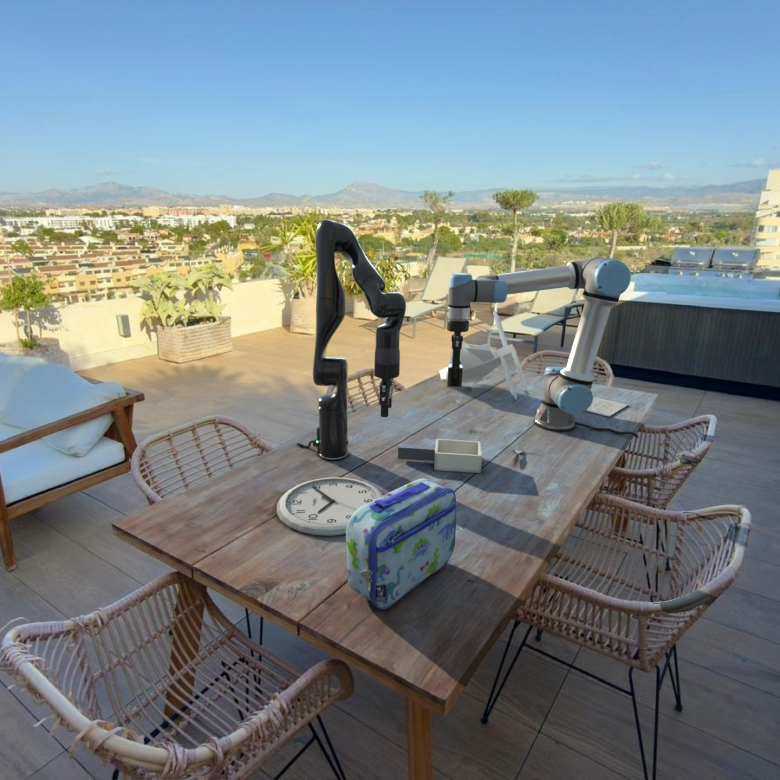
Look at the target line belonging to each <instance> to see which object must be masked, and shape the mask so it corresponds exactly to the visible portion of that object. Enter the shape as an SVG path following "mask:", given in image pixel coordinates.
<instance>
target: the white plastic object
mask: <svg viewBox="0 0 780 780" xmlns="http://www.w3.org/2000/svg"><path fill="white" fill-rule="evenodd" d="M492 315H493V319H494V321H495V324H496V325H495V326H496V328H497V332H498V335H499V338H500V342H501V345H502V347H500V348H498V349H496V350H495V349H493V348H492V347H491V346H490V344H489V343H488V342H487V343H483V344H479V345H473V346H469V345H468V343H466V342H465V340H464V339H463V342H462V349H461V350H460V362H461V364H460V365H463V372H462V384H467V383H468V384H469V383H473V384H477V383H480V382H482V381H484V378H485V377H486V376H487V375H489V374H490V373H492V372H494V371H495V370H496V369H497V368H499V367H500V366H502V370H503V373H504V376H505V380H506V383H507V386H508V390H509V393H510V394H511V395H512V397H513V398H514V399H515V400H517V392H516V391H517V390H516V388H515V385H514V381H513V378H512V375H511V371H510V369H509V365H508V361H510V360H513V363H514V366H515V369H516V372H517V376H518V380H519V382H520V385H521V389H522V391H523V393H524V395H525V396H526V397H528V396H531V395H530V390H529V388H528V387H529V386H528V384H527V381H526V378H525V375H524V371H523V369H522V368H523V367H522V366H521V362H520V359H519V355H518V352H517V349H516V347H515V346H514V345H513V343H511V344H508V341H507V337H506V334H505V331H504V328H503V325H502V321H501V318H500V315H499V314H498V312H497V311H496V310H495V311H492ZM452 357H453V349H452V348H451V353H450V357H449V362H448V364H452ZM438 372H439V376H440V381H442V383H443V384H444V385H445V386H447V382H448V366H446V367H444V368H442V369H440V370H439V371H438Z"/></svg>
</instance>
